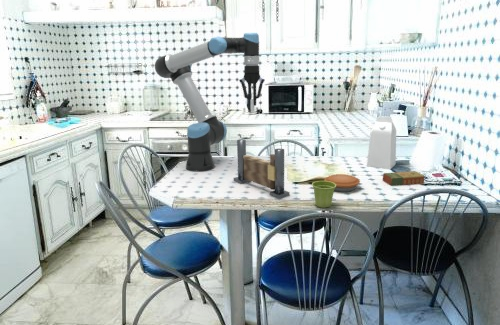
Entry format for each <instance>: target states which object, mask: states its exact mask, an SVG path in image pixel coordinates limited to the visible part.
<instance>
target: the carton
mask: <svg viewBox="0 0 500 325" xmlns="http://www.w3.org/2000/svg"><path fill="white" fill-rule="evenodd" d="M382 174H383V175H382V182H384V183H385V184H387V185H389V186H391V187H394V186H395V187H396V186H397V187H398V186H410V185H422V184H423V185H424V184H425V175H423V174H421V173H420V172H418V171H417V170H410V171H396V172H384V173H382Z"/></svg>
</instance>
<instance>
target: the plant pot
mask: <svg viewBox="0 0 500 325" xmlns="http://www.w3.org/2000/svg"><path fill="white" fill-rule="evenodd" d="M311 186H312V189H313V192H314V203H315V206H317V207H318V208H323V209H325V208H327V207H329V208H330V207H331V206H332V204H333V203H332V202H333V196H334V190H335V187H336V184H335V183H333V182H329V181H324V180H317V181H314V182H312V183H311Z"/></svg>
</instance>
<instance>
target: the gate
mask: <svg viewBox="0 0 500 325" xmlns="http://www.w3.org/2000/svg"><path fill="white" fill-rule="evenodd" d="M243 158H244V179H246V180H249V181H251V182H252V183H255V184H257V185H260V186H263V187H265V188H268V189H269V190H271V191H274V190H275V181H273V180H270V179H268V165H272V166H275V153H272V154H270V155H269V161H268V160H266V159H263V158H259V157H255V156H252V155H248V154H246V155H244V156H243ZM251 182H250V183H251Z"/></svg>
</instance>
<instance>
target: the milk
mask: <svg viewBox="0 0 500 325" xmlns="http://www.w3.org/2000/svg"><path fill="white" fill-rule="evenodd" d="M369 135H370V136H369V143H368V151H367V152H368V153H367V160H366V167H368V168H376V169H381V170H382V169H384V170H391V169H392V168H393V167H395V165H396V162H397V161H396V159H397V156H396V155H397V128H396V126H395V124H394V122H393V119H392V116H385V115H384V116H382V115H378V116H377V118H376V120H375V122H374V124H373V126H372V128H371V130H370V134H369Z"/></svg>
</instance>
